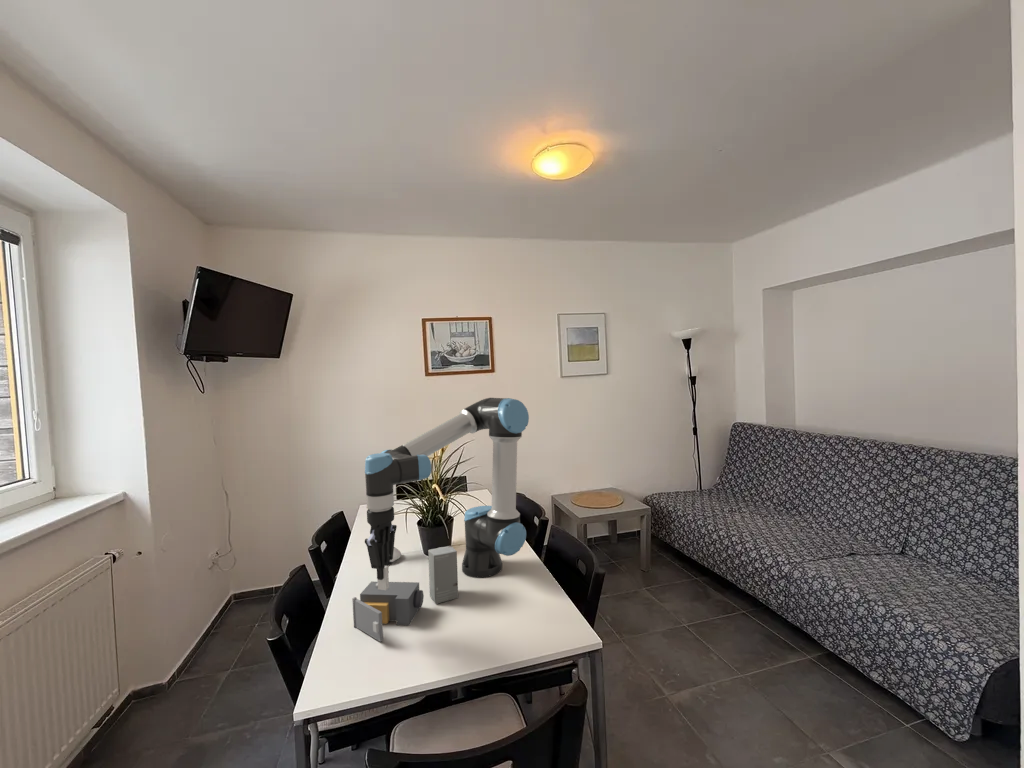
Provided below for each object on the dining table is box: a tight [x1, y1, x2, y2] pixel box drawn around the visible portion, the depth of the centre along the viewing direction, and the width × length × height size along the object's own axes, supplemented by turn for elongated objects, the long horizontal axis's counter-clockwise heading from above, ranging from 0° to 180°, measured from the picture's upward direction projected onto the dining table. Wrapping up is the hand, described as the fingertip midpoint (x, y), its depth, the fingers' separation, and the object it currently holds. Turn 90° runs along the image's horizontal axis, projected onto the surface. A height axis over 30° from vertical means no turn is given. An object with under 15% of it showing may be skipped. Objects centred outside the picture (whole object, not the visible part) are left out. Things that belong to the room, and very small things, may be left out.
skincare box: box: [427, 545, 459, 605], centre depth 146 cm, size 8×7×16 cm
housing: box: [351, 581, 425, 629], centre depth 136 cm, size 18×12×9 cm, turn 83°
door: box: [355, 598, 384, 642], centre depth 127 cm, size 12×2×8 cm, turn 51°
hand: (383, 588), depth 128 cm, fingers closed
